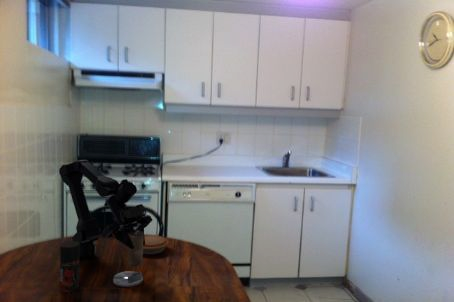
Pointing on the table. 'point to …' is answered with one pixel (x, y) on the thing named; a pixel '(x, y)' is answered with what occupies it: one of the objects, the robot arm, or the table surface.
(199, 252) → the table surface
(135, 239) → the brown cylinder
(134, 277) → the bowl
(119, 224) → the robot arm
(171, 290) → the table surface
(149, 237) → the pie
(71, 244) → the deodorant
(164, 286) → the table surface
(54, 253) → the table surface
